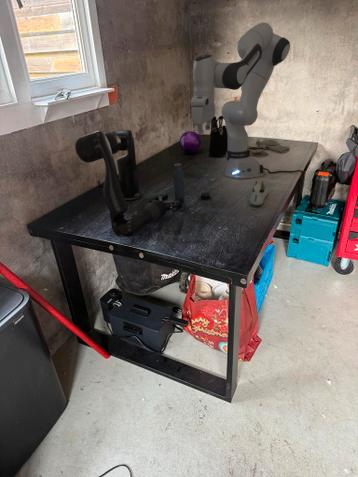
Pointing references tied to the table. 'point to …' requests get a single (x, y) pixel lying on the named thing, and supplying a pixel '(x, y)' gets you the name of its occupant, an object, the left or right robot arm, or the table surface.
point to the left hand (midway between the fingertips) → (174, 198)
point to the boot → (213, 124)
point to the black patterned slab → (218, 140)
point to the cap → (205, 196)
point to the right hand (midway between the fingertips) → (204, 131)
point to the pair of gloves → (267, 144)
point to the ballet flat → (258, 193)
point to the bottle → (179, 184)
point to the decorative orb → (190, 142)
